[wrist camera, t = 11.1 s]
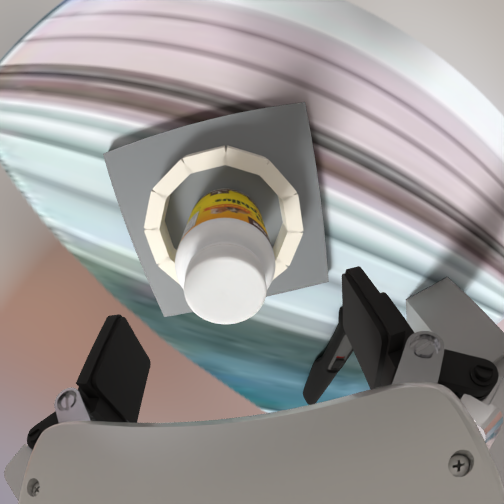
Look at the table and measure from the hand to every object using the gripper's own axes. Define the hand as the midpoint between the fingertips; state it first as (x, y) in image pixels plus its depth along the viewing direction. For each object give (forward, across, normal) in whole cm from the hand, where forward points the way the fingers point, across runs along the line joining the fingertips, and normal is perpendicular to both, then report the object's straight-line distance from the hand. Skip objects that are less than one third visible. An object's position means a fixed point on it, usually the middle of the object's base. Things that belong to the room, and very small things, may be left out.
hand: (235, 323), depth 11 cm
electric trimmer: (+14, -8, +19) cm, 25 cm away
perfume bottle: (+14, -21, +17) cm, 31 cm away
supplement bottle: (+13, +1, 0) cm, 13 cm away
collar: (+13, +1, 0) cm, 13 cm away
